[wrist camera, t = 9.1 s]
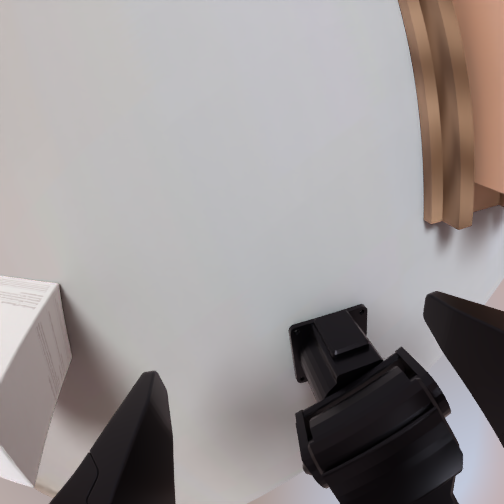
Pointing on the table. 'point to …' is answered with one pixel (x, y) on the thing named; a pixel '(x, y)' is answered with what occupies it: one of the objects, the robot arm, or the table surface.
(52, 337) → the supplement box
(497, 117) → the peach rectangular block
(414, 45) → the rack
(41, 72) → the table surface
